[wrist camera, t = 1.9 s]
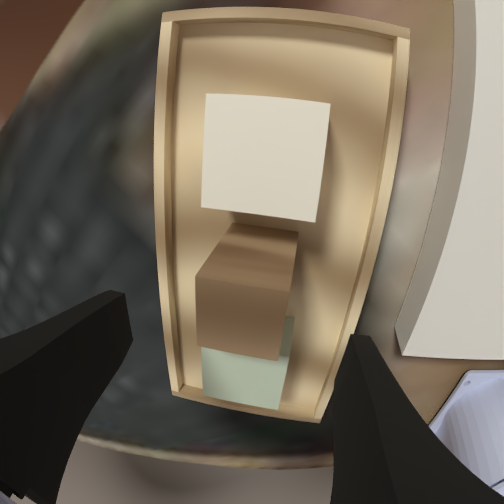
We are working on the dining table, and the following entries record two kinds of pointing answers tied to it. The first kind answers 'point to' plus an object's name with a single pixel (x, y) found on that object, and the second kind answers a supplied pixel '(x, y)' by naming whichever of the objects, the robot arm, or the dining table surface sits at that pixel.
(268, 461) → the dining table surface
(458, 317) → the dock
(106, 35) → the dining table surface
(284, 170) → the off-white square block
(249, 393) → the pale green block
